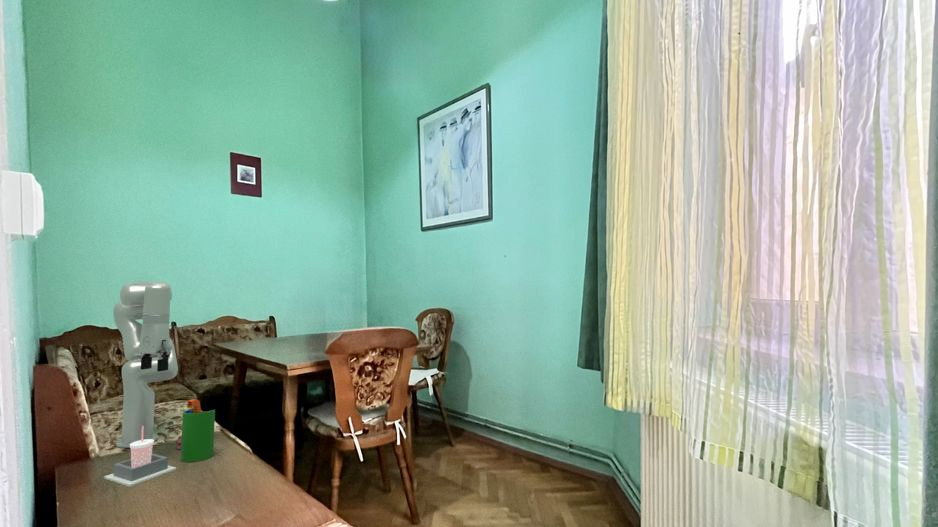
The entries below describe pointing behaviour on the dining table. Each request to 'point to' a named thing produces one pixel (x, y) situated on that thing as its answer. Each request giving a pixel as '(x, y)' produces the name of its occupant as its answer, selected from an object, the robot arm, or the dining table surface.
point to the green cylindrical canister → (197, 433)
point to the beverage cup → (141, 451)
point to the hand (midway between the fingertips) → (154, 369)
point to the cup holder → (139, 471)
